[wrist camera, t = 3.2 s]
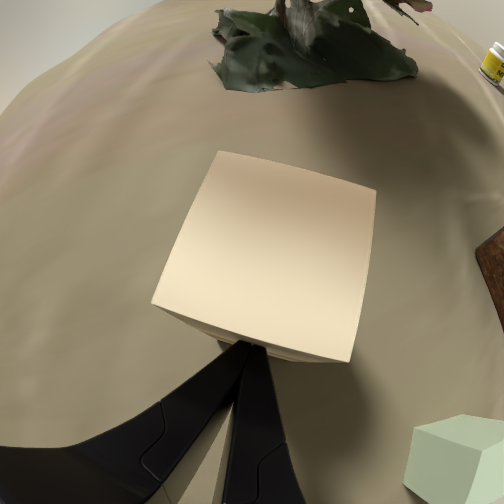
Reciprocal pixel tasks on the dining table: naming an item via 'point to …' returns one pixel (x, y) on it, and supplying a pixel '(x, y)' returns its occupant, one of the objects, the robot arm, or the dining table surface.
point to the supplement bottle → (493, 64)
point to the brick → (494, 268)
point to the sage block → (457, 461)
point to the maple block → (272, 259)
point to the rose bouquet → (308, 45)
